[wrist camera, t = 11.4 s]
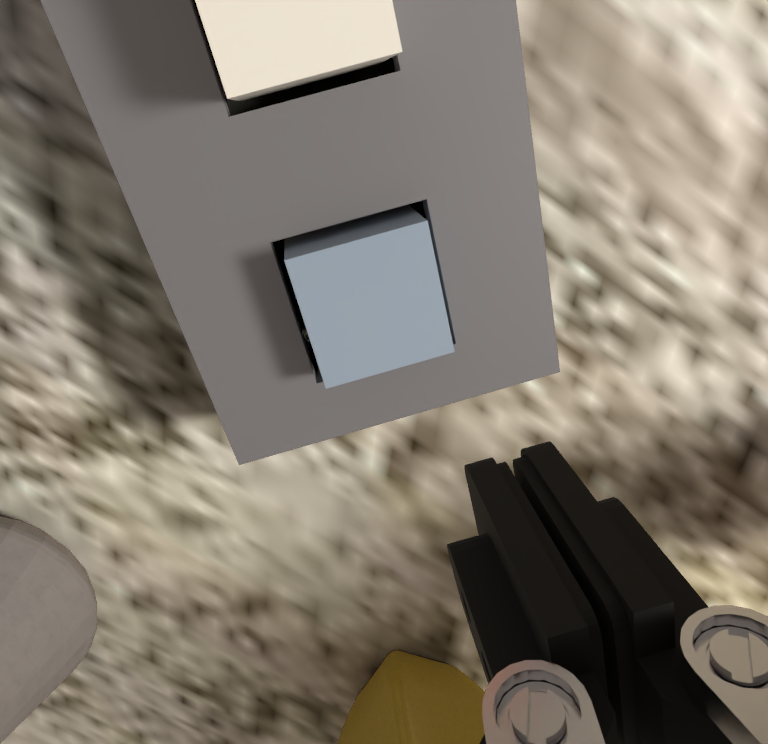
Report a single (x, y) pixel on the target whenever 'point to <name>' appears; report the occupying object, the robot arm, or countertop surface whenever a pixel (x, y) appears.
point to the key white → (295, 41)
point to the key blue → (369, 294)
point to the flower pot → (416, 705)
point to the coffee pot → (39, 618)
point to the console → (324, 203)
